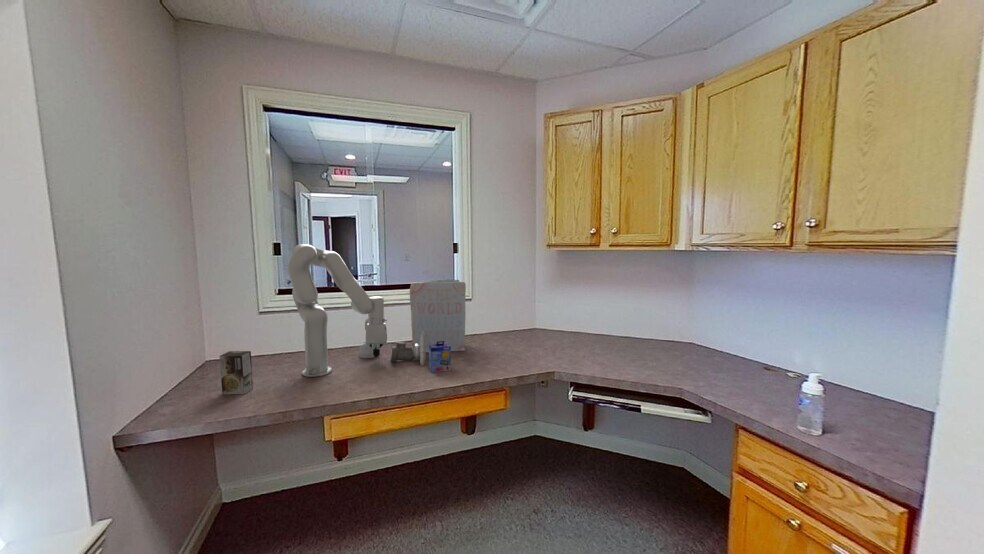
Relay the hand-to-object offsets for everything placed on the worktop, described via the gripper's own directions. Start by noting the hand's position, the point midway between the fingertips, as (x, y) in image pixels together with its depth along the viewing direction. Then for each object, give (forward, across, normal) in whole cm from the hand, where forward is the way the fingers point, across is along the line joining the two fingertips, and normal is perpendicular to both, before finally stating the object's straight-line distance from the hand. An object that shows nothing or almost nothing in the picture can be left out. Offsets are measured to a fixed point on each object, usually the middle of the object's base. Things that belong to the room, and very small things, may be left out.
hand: (376, 356), depth 197 cm
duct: (+3, -22, 0) cm, 22 cm away
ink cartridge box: (+3, -33, +14) cm, 36 cm away
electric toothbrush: (+3, +6, -12) cm, 14 cm away
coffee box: (+4, +48, +36) cm, 60 cm away
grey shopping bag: (+3, -30, -24) cm, 39 cm away
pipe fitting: (+3, -13, 0) cm, 13 cm away
